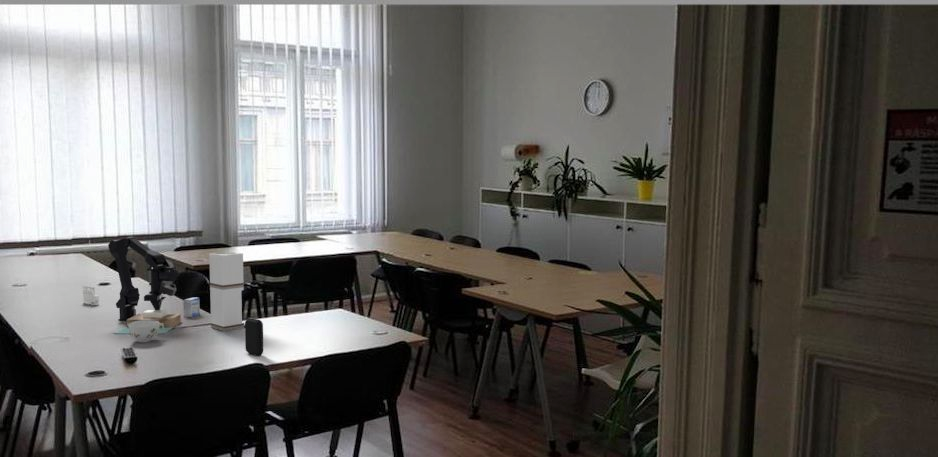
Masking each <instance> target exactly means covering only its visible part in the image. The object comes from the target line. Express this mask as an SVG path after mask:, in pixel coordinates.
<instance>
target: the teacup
mask: <svg viewBox="0 0 938 457" xmlns="http://www.w3.org/2000/svg"><path fill="white" fill-rule="evenodd" d="M128 326H129V330H130V333H131V334H130V335H131V337H132V338H133V340H135V341H136V342H138V343H149V342H151V341H153V339H154V338H156V336H157V335H160V334H159V333H161V332H162V331H163V329H164V324H163V323H159V322H158V321H151V320H141V321H135V322H131V323H129V324H128ZM159 326H162V330H161V331H159V332H158V330H159Z"/></svg>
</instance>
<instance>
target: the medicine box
mask: <svg viewBox="0 0 938 457" xmlns="http://www.w3.org/2000/svg"><path fill="white" fill-rule="evenodd" d="M182 303H183V304H182V305H183V307H182V309H183V317H184V318H194V317H196V316H199V315H200V312H201V311H200V310H201V308H200V307H201V306H200V297H197V296H196V297H190V298H185V299H183V301H182Z"/></svg>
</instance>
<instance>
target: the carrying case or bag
mask: <svg viewBox="0 0 938 457" xmlns="http://www.w3.org/2000/svg"><path fill="white" fill-rule="evenodd" d="M243 329H244V331H245V332H244V336H245V338H244V340H245V343H244V344H245V352H247V354H250V355H254V356H257V357H261V356H262V355H263V354H264V323H263V321H262V320H260V319H257V318H251V317H248V318H246V320H245V322H244V328H243Z"/></svg>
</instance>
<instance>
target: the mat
mask: <svg viewBox="0 0 938 457" xmlns="http://www.w3.org/2000/svg"><path fill="white" fill-rule="evenodd" d="M172 329H173V327H172V328H164V329H163V331H162V332H161V333H159V334H158V335H164V334H165V333H167V332H169V331H170V330H172ZM161 330H162V328H159V330H158V332H159V331H161ZM168 330H169V331H168ZM163 333H164V334H163ZM113 334H114V335H116V334H117V335H131V333H130V330H129V327H127V326H125V327H123V328H121V329H120V330H117V331H115V332H113Z"/></svg>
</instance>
